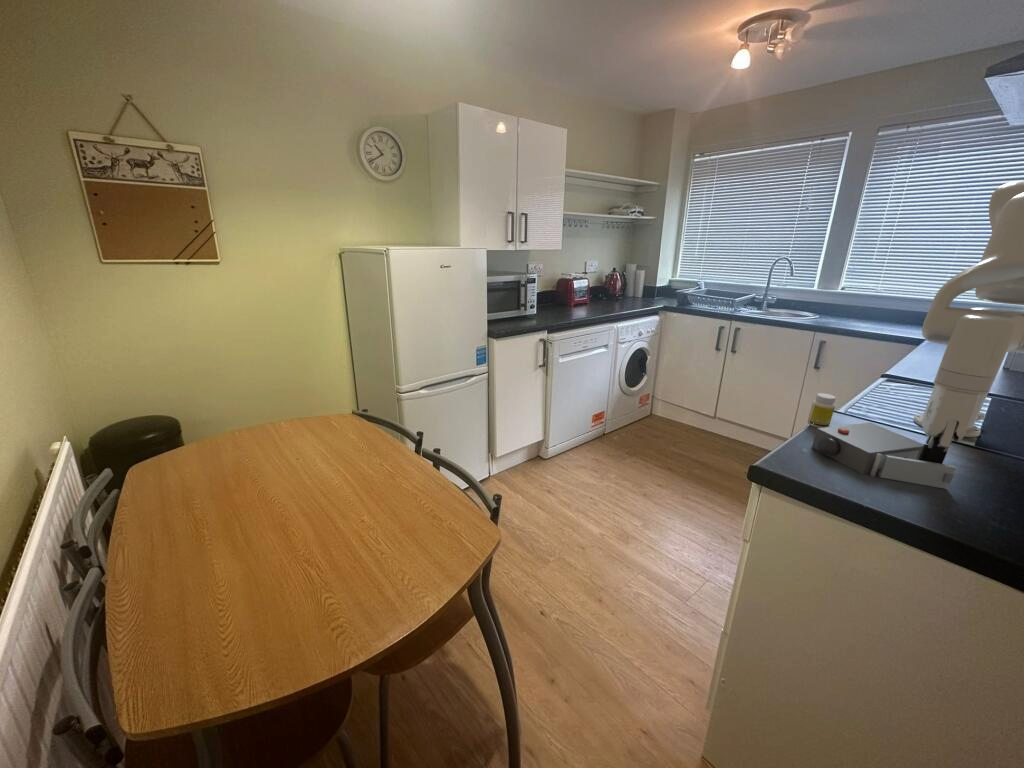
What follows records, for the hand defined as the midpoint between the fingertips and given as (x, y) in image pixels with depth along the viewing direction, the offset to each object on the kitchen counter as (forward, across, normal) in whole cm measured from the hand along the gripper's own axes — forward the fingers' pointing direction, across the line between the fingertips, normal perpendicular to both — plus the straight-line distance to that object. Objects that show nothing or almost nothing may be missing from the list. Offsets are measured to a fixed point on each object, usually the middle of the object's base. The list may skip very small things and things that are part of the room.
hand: (928, 465), depth 85 cm
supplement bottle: (+3, -18, -19) cm, 27 cm away
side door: (+3, +4, -2) cm, 5 cm away
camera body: (+3, -3, -10) cm, 11 cm away
